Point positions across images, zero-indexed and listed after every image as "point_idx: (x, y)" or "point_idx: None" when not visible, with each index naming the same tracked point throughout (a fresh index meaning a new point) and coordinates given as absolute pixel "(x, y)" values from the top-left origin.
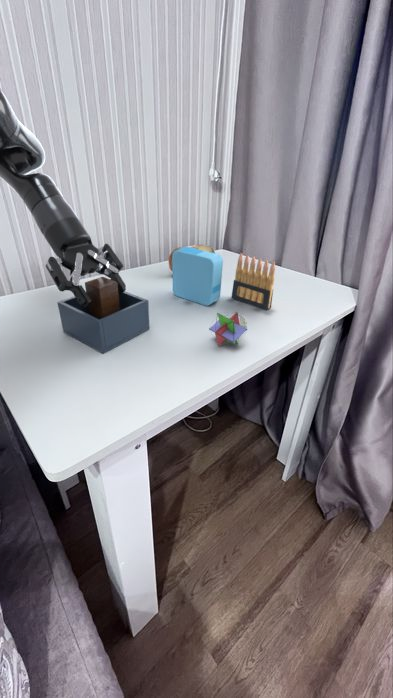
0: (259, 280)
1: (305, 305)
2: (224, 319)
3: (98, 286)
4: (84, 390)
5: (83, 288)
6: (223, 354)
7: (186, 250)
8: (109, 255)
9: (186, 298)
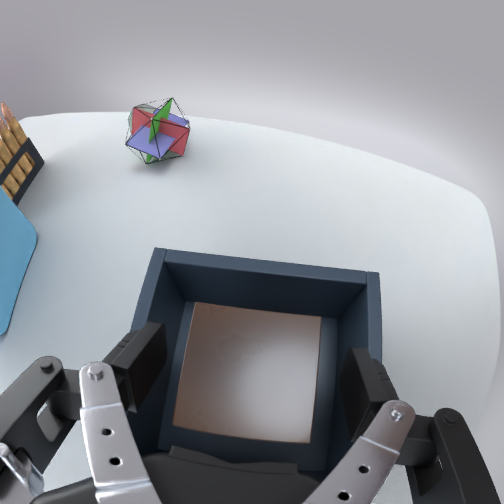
0: (7, 147)
1: None
2: (159, 115)
3: (306, 338)
4: (429, 255)
5: (366, 386)
6: (202, 144)
7: None
8: (16, 435)
9: (15, 295)
